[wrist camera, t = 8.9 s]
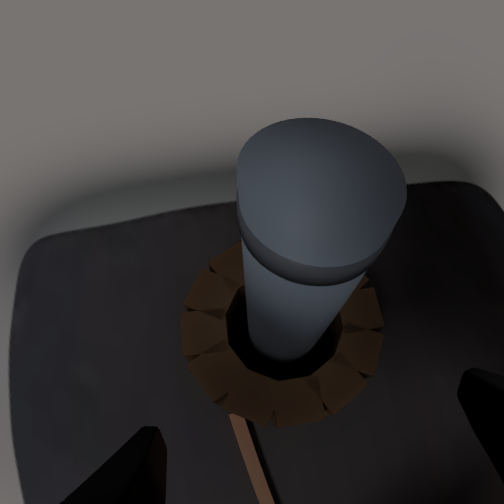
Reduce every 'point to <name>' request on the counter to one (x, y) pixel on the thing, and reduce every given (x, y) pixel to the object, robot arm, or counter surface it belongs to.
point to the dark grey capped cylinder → (310, 227)
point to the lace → (251, 459)
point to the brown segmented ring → (259, 386)
